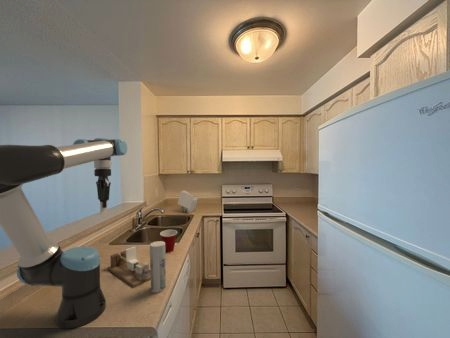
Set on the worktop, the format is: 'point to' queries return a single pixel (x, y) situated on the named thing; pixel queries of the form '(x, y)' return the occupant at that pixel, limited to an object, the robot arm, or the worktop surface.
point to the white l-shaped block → (131, 258)
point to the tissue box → (187, 201)
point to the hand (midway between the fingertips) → (103, 213)
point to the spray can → (157, 266)
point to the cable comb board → (125, 273)
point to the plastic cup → (169, 239)
